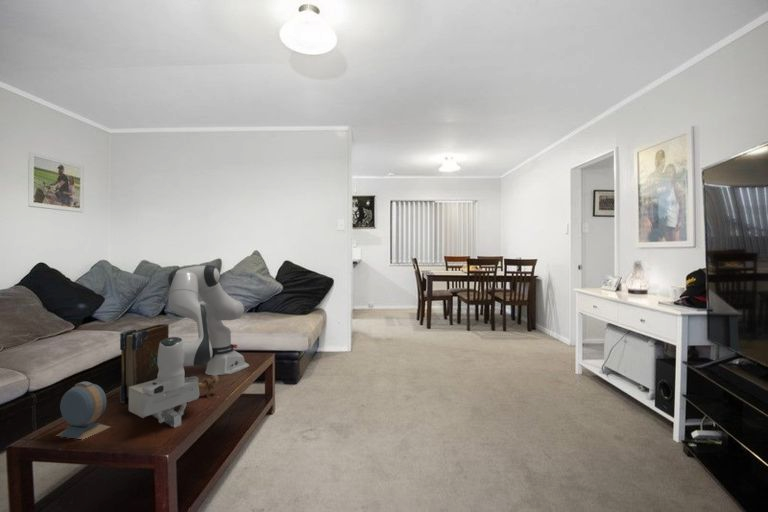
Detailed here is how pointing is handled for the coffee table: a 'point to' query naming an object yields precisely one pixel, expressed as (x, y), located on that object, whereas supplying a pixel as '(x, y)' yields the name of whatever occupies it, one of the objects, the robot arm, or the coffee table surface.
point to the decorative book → (140, 356)
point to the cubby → (136, 398)
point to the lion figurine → (208, 384)
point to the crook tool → (171, 417)
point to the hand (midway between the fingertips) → (171, 418)
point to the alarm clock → (83, 410)
